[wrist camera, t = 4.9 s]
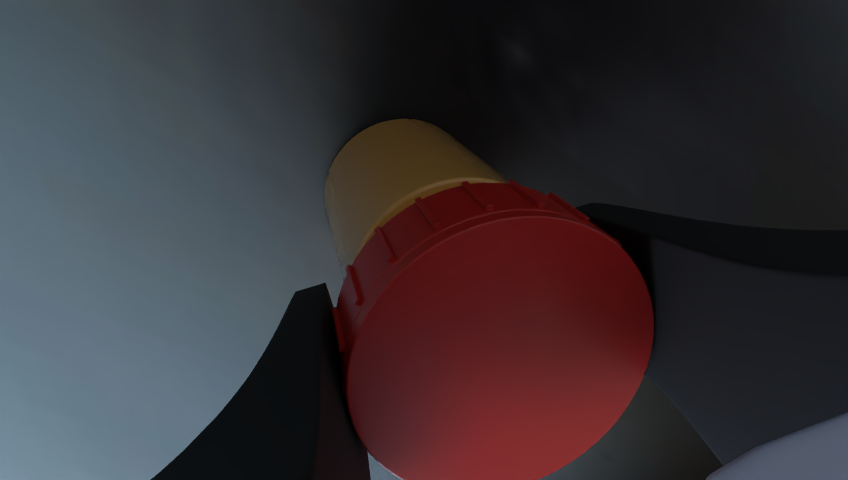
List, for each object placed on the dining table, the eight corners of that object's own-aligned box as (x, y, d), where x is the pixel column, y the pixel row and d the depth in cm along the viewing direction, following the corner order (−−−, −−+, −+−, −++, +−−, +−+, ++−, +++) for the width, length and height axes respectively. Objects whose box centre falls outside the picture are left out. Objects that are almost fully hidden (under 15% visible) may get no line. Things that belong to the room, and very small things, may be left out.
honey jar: (497, 214, 18) (630, 343, 11) (374, 289, 18) (435, 463, 11) (431, 87, 16) (545, 153, 9) (292, 172, 16) (307, 300, 9)
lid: (456, 115, 9) (494, 139, 8) (653, 273, 12) (714, 317, 10) (271, 361, 10) (271, 428, 9) (487, 464, 12) (519, 533, 11)
